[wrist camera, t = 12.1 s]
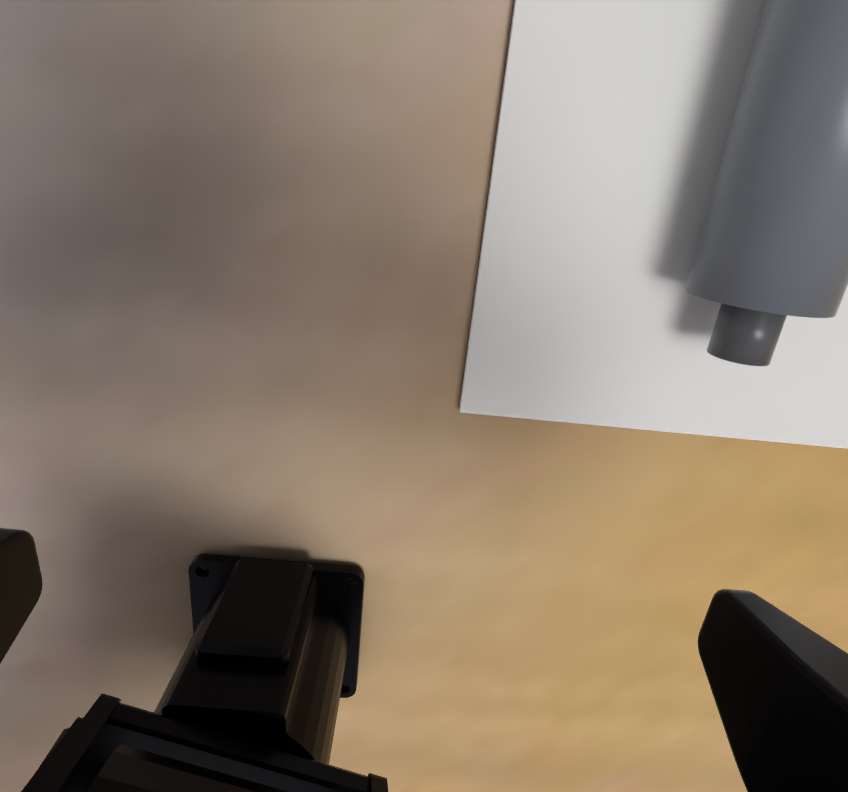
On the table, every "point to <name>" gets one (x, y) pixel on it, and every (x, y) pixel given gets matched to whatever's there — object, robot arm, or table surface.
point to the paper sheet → (628, 234)
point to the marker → (780, 185)
